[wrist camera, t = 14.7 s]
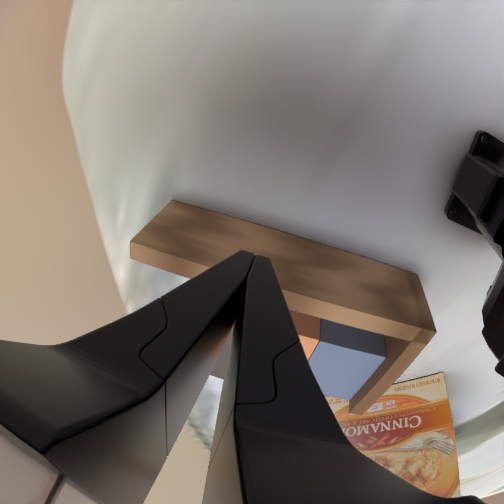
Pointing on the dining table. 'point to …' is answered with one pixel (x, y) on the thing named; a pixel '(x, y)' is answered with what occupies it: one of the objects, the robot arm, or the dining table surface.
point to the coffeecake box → (408, 434)
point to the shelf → (302, 281)
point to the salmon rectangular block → (307, 330)
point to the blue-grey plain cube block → (345, 358)
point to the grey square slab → (222, 359)
